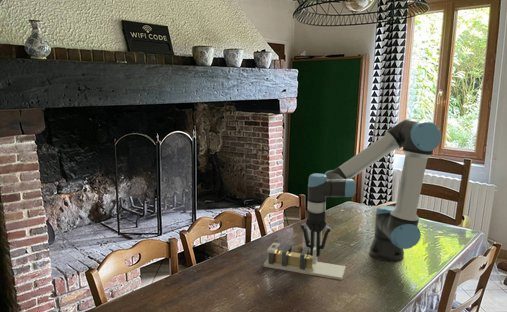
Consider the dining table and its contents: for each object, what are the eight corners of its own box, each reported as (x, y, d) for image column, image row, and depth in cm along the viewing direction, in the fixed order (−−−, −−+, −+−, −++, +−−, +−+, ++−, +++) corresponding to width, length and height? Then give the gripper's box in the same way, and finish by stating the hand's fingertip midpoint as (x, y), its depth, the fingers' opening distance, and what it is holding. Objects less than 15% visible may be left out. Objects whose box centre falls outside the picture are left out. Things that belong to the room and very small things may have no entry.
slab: (345, 268, 170) (345, 266, 169) (341, 280, 160) (342, 277, 159) (271, 256, 182) (271, 254, 181) (263, 266, 171) (263, 264, 171)
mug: (324, 252, 186) (325, 230, 184) (308, 255, 182) (309, 233, 180) (311, 243, 197) (311, 222, 195) (295, 246, 193) (296, 224, 191)
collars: (308, 261, 174) (309, 247, 173) (304, 269, 166) (304, 255, 165) (273, 255, 180) (273, 242, 179) (267, 263, 172) (267, 249, 171)
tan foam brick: (314, 264, 171) (314, 254, 170) (311, 268, 167) (312, 258, 166) (270, 257, 178) (270, 247, 177) (267, 261, 174) (267, 251, 173)
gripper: (333, 209, 165) (331, 261, 170) (303, 206, 170) (302, 257, 174) (330, 215, 159) (328, 269, 163) (299, 211, 163) (297, 264, 167)
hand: (314, 262), depth 168 cm, fingers closed
